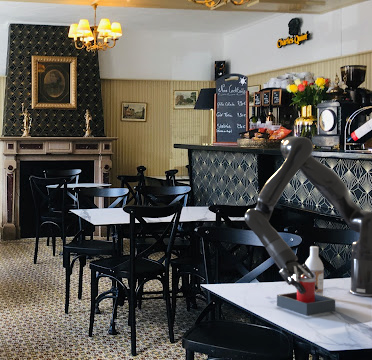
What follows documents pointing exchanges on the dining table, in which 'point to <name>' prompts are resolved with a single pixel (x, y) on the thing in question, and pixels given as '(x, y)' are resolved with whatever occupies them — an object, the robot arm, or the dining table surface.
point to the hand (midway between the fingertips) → (309, 291)
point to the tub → (306, 304)
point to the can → (307, 290)
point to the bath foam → (316, 269)
